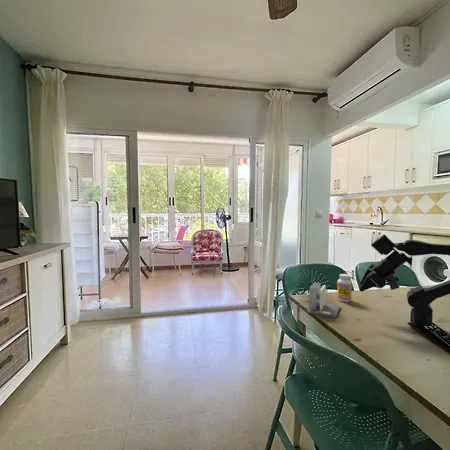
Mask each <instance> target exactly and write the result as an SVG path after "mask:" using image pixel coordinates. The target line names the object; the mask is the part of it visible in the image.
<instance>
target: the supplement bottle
mask: <svg viewBox="0 0 450 450" xmlns="http://www.w3.org/2000/svg"><path fill="white" fill-rule="evenodd" d="M338 278H339V279H337V282H336V283H337V284H336V286H337V287H336V289H337V290H336V300H338V301H340V302H346V303H347V302H348V303H349V302H351V301H352V292H353V291H352V289H353V288H352V286H353V285H352V281H351V280H350V278H351V276H350V274H347V273H340V274H339V277H338Z"/></svg>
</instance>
